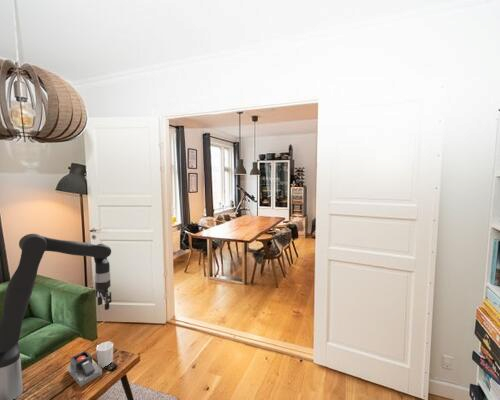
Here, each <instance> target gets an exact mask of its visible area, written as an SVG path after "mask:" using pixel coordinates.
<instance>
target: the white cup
mask: <svg viewBox="0 0 500 400" xmlns="http://www.w3.org/2000/svg"><path fill="white" fill-rule="evenodd" d="M96 358H97V364H98V365H99V366H100V367H101V368H103V369H104V367H105V366H107V365H108V364H110V363H111V362H112V363H113V360H114V359H113V358H114V342H112V341H109V340H108V341H104V342H102V343H99V344H98V345H97V346H96ZM105 368H106V367H105Z"/></svg>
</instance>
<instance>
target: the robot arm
mask: <svg viewBox="0 0 500 400" xmlns="http://www.w3.org/2000/svg"><path fill="white" fill-rule="evenodd" d="M18 246H19V249H20V250H21V253H20V259H19V262H18V266H17V268H16V269H15V270H14V273H13V274H12V276H11V278H10V280H9V281H8V284H7V287H6V290H5V293H4V296H3V306H2V318H1V322H0V400H13V399H15V400H16V399H18V398H19V397H20V396H21V395H22V393H23V391H24V389H23V387H24V386H23V377H22V375H23V374H22V363H21V361H22V360H21V350H20V346H19V340H20V339H21V338H20V337H21V332H22V326H23V321H24V317H25V314H26V311H27V308H28V305H29V302H30V300H31V296H32V294H33V290H34V287H35V284H36V279H37V274H38V270H39V267H40V263H41V262H42V259H43V257H44V254H45V252H54V253H61V254H66V255H70V256H78V257H79V256H82V257H91V258H93V260H94V263H95V267H94V268H95V270H94V271H95V276H94V287H95V289H94V290H95V293H94V295H95V296H94V297H96V299H97V305H98V306H100V305H103V302H104V310H105V311H107V310H109V309H110V303H112V302H113V301H112V291H109V288H110V287H111V272H110V271H111V270H110V267H111V265H110V261H109V259H108V258H109V257H110V255H111V254H112V248H110V246H108V245H106V244H104V243H98V244H92V243H89V242H85V241H84V242H83V241H75V240H74V241H73V240H65V239H57V238H51V237H47V236H43V235H40V234H37V233H29V234H25V235H24V236H22V237H21V238H20V240H19V242H18Z"/></svg>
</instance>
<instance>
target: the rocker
mask: <svg viewBox="0 0 500 400" xmlns="http://www.w3.org/2000/svg"><path fill="white" fill-rule="evenodd" d="M81 367H82V368H83V370H84V372H85V373H86V375H89V374H91V373H93V372H95V369H94V367H93V365H92V364H91V362H90V361H89V360H88V361H86V362H84V363H82V364H81Z"/></svg>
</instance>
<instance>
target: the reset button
mask: <svg viewBox="0 0 500 400" xmlns="http://www.w3.org/2000/svg"><path fill="white" fill-rule="evenodd" d="M85 358H86V356H80V357H78V358H77V359H76V361H77V362H79V361H81V360H83V359H85Z"/></svg>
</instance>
